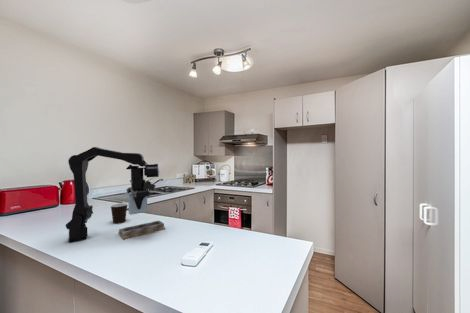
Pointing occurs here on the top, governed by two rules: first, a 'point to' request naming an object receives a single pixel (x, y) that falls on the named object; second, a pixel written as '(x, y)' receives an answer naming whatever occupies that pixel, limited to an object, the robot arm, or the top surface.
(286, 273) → the top surface
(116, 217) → the coffee mug
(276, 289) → the top surface
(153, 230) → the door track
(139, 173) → the robot arm
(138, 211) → the grey flat block
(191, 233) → the top surface
